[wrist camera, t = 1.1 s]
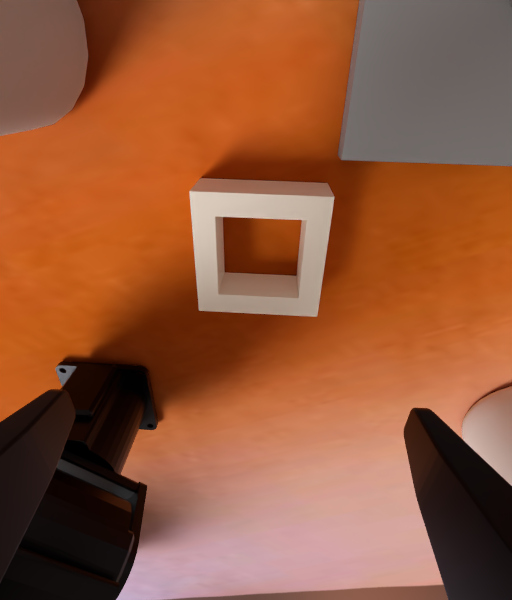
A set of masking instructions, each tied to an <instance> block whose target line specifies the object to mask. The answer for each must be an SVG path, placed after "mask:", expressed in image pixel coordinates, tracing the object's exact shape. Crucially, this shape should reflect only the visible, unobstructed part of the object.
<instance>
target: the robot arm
mask: <svg viewBox="0 0 512 600" xmlns="http://www.w3.org/2000/svg"><path fill="white" fill-rule="evenodd" d="M56 372H57V374H58V377H59V379H60V382H61V385H62V388H61V389H60V390H58V389H51V390H48V391H47V392H45V393H43V394H42V395H40V396H39V397H37V398H36V399H34V400H33V401H31V402H30V403H28V404H27V405H25V406H24V407H22V408H21V409H19V410H18V411H16V412H15V413H13V414H12V415H10V416H9V417H7V418H6V419H4V420H3V421H1V422H0V600H116V599H117V597H118V596H119V594H120V592H121V590H122V589H123V587H124V585H125V583H126V581H127V578H128V576H129V574H130V571H131V569H132V566H133V563H134V560H135V557H136V553H137V549H138V543H139V537H140V530H141V524H142V517H143V511H144V504H145V498H146V491H147V485H145V484H143V483H141V482H139V483H137V482H135V481H133V480H131V479H129V478H126V477H124V476H122V475H120V474H121V472H122V469H123V467H124V464H125V462H126V459H127V457H128V454H129V452H130V449H131V447H132V444H133V442H134V439H135V437H136V434H137V432H138V429H144V430H154V429H156V427H157V425H158V419H157V414H156V409H155V404H154V399H153V394H152V388H151V383H150V378H149V373H148V370H147V369H146V368H145V367H143V366H134V365H117V364H99V363H82V362H60V363H59V364H58V365H57V367H56ZM141 373H142V374H141ZM404 439H405V444H406V449H407V454H408V459H409V464H410V469H411V474H412V479H413V484H414V488H415V493H416V497H417V501H418V504H419V508H420V511H421V514H422V517H423V520H424V523H425V527H426V530H427V533H428V536H429V539H430V543H431V546H432V549H433V552H434V555H435V558H436V562H437V565H438V568H439V571H440V574H441V577H442V581H443V584H444V587H445V590H446V593H447V596H448V600H512V486H511V485H510V484H509V483H508V482H507V481H506V480H505V479H504V478H503V477H502V476H501V475H500V474H499V473H498V472H497V471H495V470H494V469H493V468H492V467H491V466H490V465H489V464H488V463H487V462H486V461H485V460H484V459H483V458H482V457H481V456H480V455H478V454H477V453H476V452H475V451H474V450H473V449H472V448H471V447H470V446H469V445H468V444H467V443H466V442H465V441H464V440H463V439H461V438H460V437H459V436H458V435H457V434H456V433H455V432H454V431H453V430H452V429H451V428H450V427H449V426H448V425H447V424H446V423H445V422H443V421H442V420H441V419H440V418H439V417H438V416H437V415H436V414H435V413H434V412H433V411H432V410H430V409H427V408H413V409H412V410H411V411H410V414H409V417H408V419H407V422H406V425H405V427H404Z"/></svg>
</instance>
